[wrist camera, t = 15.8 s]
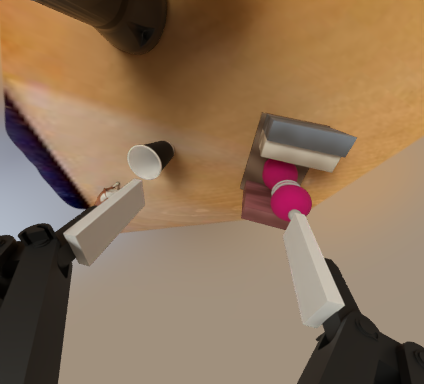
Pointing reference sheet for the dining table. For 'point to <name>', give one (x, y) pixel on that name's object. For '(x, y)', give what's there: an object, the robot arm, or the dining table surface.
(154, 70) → the dining table surface
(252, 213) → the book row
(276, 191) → the pepper mill
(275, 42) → the dining table surface
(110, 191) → the bull figurine
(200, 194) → the dining table surface
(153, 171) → the dixie cup
